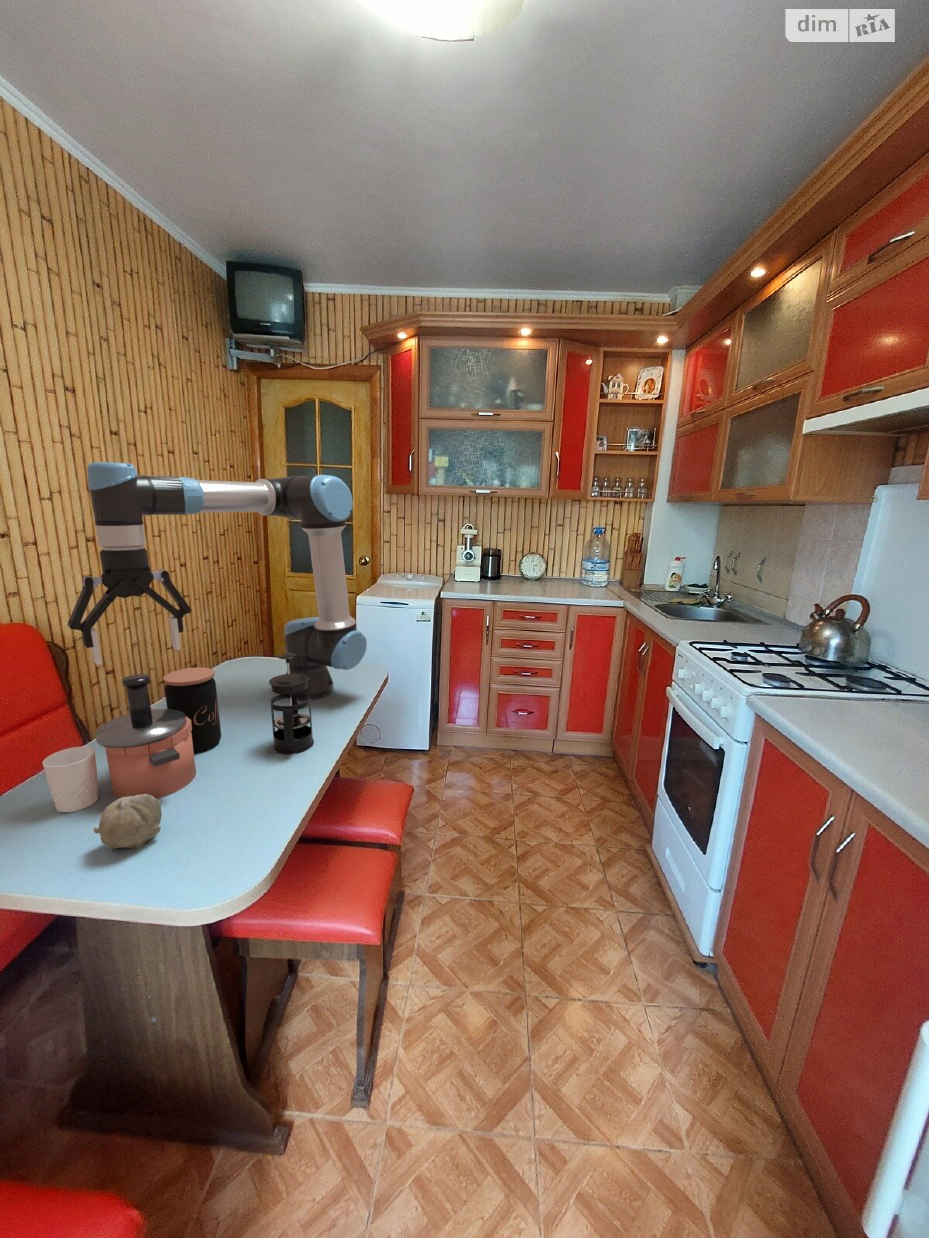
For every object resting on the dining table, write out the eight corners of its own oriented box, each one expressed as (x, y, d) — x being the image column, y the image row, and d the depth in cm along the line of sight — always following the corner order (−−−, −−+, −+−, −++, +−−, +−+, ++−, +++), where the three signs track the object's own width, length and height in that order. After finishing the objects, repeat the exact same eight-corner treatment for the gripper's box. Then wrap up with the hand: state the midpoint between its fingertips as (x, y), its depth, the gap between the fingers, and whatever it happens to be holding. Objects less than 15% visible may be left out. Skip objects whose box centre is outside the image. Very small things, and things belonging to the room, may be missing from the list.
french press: (277, 736, 126) (270, 649, 121) (316, 733, 128) (310, 647, 122) (268, 759, 115) (260, 664, 109) (311, 756, 116) (305, 662, 111)
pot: (101, 775, 107) (92, 723, 104) (177, 751, 118) (171, 703, 115) (128, 818, 93) (118, 759, 90) (212, 786, 104) (206, 733, 101)
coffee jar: (201, 757, 115) (192, 684, 111) (161, 752, 117) (151, 680, 113) (231, 737, 125) (224, 668, 121) (194, 732, 127) (186, 665, 123)
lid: (173, 714, 113) (166, 660, 110) (198, 736, 103) (191, 678, 100) (89, 737, 102) (79, 677, 99) (108, 764, 92) (97, 699, 89)
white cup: (74, 790, 101) (65, 745, 99) (112, 792, 101) (104, 746, 99) (40, 814, 94) (30, 766, 91) (81, 815, 94) (73, 767, 91)
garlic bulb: (163, 842, 90) (179, 791, 90) (134, 868, 82) (151, 812, 81) (112, 827, 90) (127, 775, 89) (77, 852, 81) (94, 794, 81)
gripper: (187, 543, 106) (199, 639, 111) (34, 550, 88) (56, 665, 93) (200, 545, 101) (212, 646, 106) (41, 554, 83) (63, 674, 88)
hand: (139, 655), depth 99 cm, fingers open, 13 cm apart
